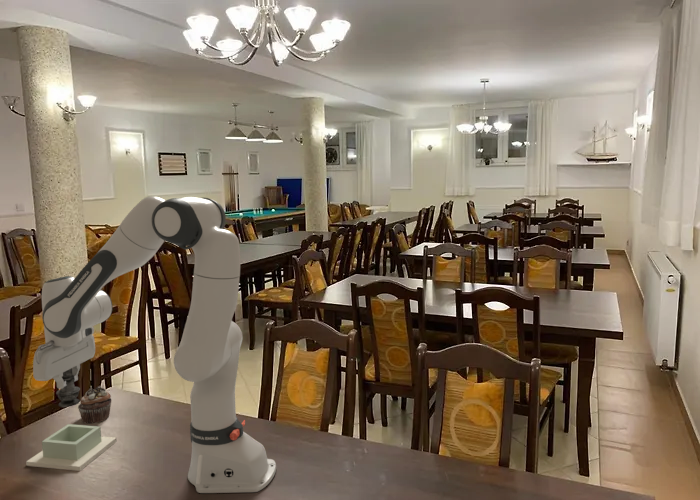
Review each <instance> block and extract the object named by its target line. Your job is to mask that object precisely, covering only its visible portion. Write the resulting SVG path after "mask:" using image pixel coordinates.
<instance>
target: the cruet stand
mask: <svg viewBox="0 0 700 500" xmlns="http://www.w3.org/2000/svg"><path fill="white" fill-rule="evenodd" d="M101 428H102V427H101V426H96V425H85V424H71V423H67V424H66V425H64V426H63V427H62V428H60V429H59V430H57V431H55V432H54V433H52V434H51V435H49V436H48V437H46V438H44V440H42V441H41V449H42V450H41V451H40V452H38V453H36V454H35V455H33V456H32V457H30V458H29V459H27V460H26V462H25V463H26V466H27V467H36V468H37V467H38V468H46V469H47V468H48V469H55V470H56V469H57V470H68V471H76V472H77V471H78V472H81V471H82V470H83V469H85V468H86V466H88V465H90V464H91V463H92V462H93V461H94V460H95V459H97V458H98V457H99V456H101V455H102V454H103V453H104V452H106V451H107V450H108V449H109V448H111V446H113V445H114V444H115V443H116V442H117V437H114V436H112V437H111V436H102V430H101Z"/></svg>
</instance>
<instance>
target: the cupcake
mask: <svg viewBox="0 0 700 500" xmlns="http://www.w3.org/2000/svg"><path fill="white" fill-rule="evenodd" d="M79 400H80V402H79V403H80V404H78V406H77V409H78V411H79V415H80V417H81V421H82V422H83V424H87V425H88V424H91V425H92V424H98V423H101V422H103V421H105V420H107V419H109V416H110V412H111V406H112V396H111V394H110V393H109V391H106V388H104V387H103V386H101V385H99V386H97V387H95V388H94V389H93V388H92V387H90V388H89V389H88V390H87V391H86V392H85V394H84V396H82V397H81V398H80V399H79Z"/></svg>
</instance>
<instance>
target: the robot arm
mask: <svg viewBox="0 0 700 500" xmlns="http://www.w3.org/2000/svg"><path fill="white" fill-rule="evenodd" d="M226 220H227V219H226V212H225V210H224V208H223V206H222V205H221V204H220V203H219V202H217V201H216V200H215V199H213V198H208V197H195V196H183V197H178V198H177V197H174V198H168V199H166V200H165V199H164V198H162V197H159V196H155V195H151V196H146V197H144V198H143V199H141V200H140V201H139V202H138V203H137V204H136V205H135V206H133V207H132V209H131V210H130V211H129V212H128V213H127V215H126V216H125V217H124V219H122V221H121V223H120V224H119V226H117V228H116V230H115V231H114V232H113V234H111V236H110V238H108V240H107V241H106V242H105V244H104V245H103V246H102V247H101V248H100V249H99V250H98V251H97V252H96V254H94V255H93V257H92V258H91V259H90V260H89V261H88V262H87V263H86V264H85V265H84V266H83V268H82V269H81V270H80V271H79V273H78V274H77V275H76V276H75V277H74V276H72V275H65V276H61V277H57V278H53V279H48V280H46V281H45V282H44V283H43V284H42V290H41V309H42V324H43V330H44V339H45V340H44V341H45V343H44V344H39V345H38V347H37V349H36V351H35V352H34V356H33V363H32V365H33V367H32V368H33V369H32V374H33V375H32V377H33V378H34V379H35V381H40V382H48V381H49V380H52V379H53V380H54V382H56V388H57V389H58V390H60V389H62V388H64V387H66V386H67V385H66V381H65V380H63V379H62V376H63V372H65V371H67V370H69V369H71V368H72V373H73V376H74V378H73V381H74V383H75V382H77V381H78V380H79V376H78V375H79V373H80V372H79V371H80V369H81V364H83V363H85V362H86V361H88V360H91V359H93V358H94V357H95V353H96V344H95V343H96V341H95V337H94V335H93V334H94V333H95V328H94V326H97V325H98V324H101V323H103V322H105V321H107V320H108V319H109V318H110V317H111V315H112V313H113V303H112V299H111V297H110V296H109V294H108V293H107V292H106V291H104V290H103V288H104V287H105V286H106V285H107V284H108V283H110V282H111V281H113V280H114V279H116V278H119V277H120V276H123V275H125V274H127V273H129V272H132V271H134V270H136V269H138V268H141V267H143V266H144V265H146V264H147V263H148V262H149V261H150V260H151V259H152V258H153V257H155V255H156V253H157V252H158V250H159V249H160V248H161V247H162V245H163V244H164V242H167V243H170V244H172V245H175V246H177V247H179V248H181V249H183V250H189V249H192V251H193V253H194V268H193V279H192V291H191V301H190V307H189V311H188V315H187V317H186V321H185V324H184V328H183V333H182V336H181V341H180V343H179V344H178V348H177V350H176V351H175V354H174V356H173V365H174V369H175V371H176V373H177V374H178V375H179V376H180V377H181V378H182V379H183V380H185V381H188V382H192V383H193V385H192V388H191V390H190V413H191V416H190V417H191V418H190V419H191V422H190V425H189V426H190V428H189V429H190V433H189V434H190V442H191V456H190V458H191V459H190V465H189V469H188V472H187V479H188V481H189V483H191V484H192V485H194V486H195V491H196V493H198V494H199V493H200V494H217V493H218V494H219V493H220V494H223V493H225V494H226V493H227V494H228V493H229V494H230V493H257V492H260V491H261V490H263V489H264V488H266V486H268V485H269V484H270V483H271V481H272V480H273V478H274V476H275V474H276V472H277V463H276V461H275V459H272V458H268V456H267V451H266V449H265V447H264V445H263V444H262V443H261V442H259V441H257V440H256V439H254V438H253V437H252V436H251V435H249V434H248V433H246V432H245V431H244V427H245V425H246V420H245V419H244V420H243V421H242V422H240V420H239V418H238V417H237V414H236V413H237V412H236V409H237V408H236V407H237V406H236V383H237V377H238V369H239V359H240V350H241V347H242V343H243V339H244V338H243V332H242V329H241V328H240V326H239V325H238V324H237V323H236V322H234V321H233V317H234V314H235V312H236V310H237V306H238V298H239V287H240V277H241V249H240V240H239V238H238V237H237V235H236V234H235V233H234V232H232V231H230V230H228V229H224V227H225V225H226Z"/></svg>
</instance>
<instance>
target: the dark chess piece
mask: <svg viewBox="0 0 700 500" xmlns="http://www.w3.org/2000/svg"><path fill="white" fill-rule="evenodd" d="M73 378H74V376H73V373H72V368H71V369H69V370H67V371H65V372H63V376H62V379H63V380H65V381H66V385H67V386H66V387H64V388H62V389H58V390H57V391H56V393H55V395H57V398H58V400H60V402H59V403H58V407H60V408H70V407H74V406H76V405H79V403H81V402H80V400H81V399H78V398H77V397H78V396H79V394H80V391H81V388H80V387H79V386H75V382H74V381H73Z"/></svg>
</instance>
